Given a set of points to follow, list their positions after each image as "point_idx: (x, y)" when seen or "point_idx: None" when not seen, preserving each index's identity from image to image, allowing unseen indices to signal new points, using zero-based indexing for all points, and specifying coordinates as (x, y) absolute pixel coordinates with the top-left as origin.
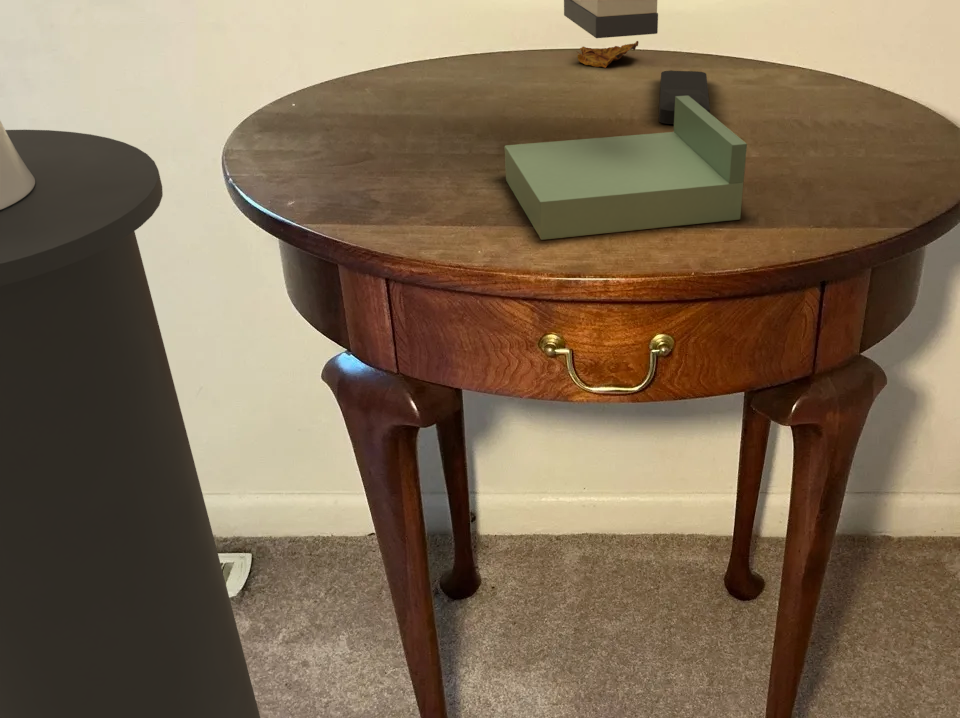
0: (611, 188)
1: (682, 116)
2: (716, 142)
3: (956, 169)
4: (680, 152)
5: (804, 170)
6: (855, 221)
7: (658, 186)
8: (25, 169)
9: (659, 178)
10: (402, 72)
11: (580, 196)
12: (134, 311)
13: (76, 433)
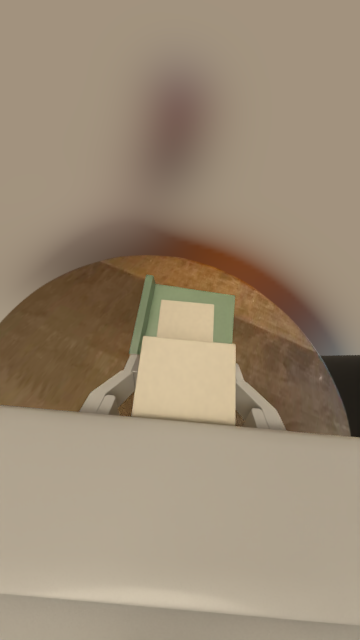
0: (203, 297)
1: (141, 341)
2: (150, 294)
3: (31, 301)
4: (154, 325)
5: (92, 326)
6: (113, 273)
7: (183, 292)
8: None
9: (179, 300)
10: None
11: (218, 294)
12: (347, 387)
13: (338, 359)
